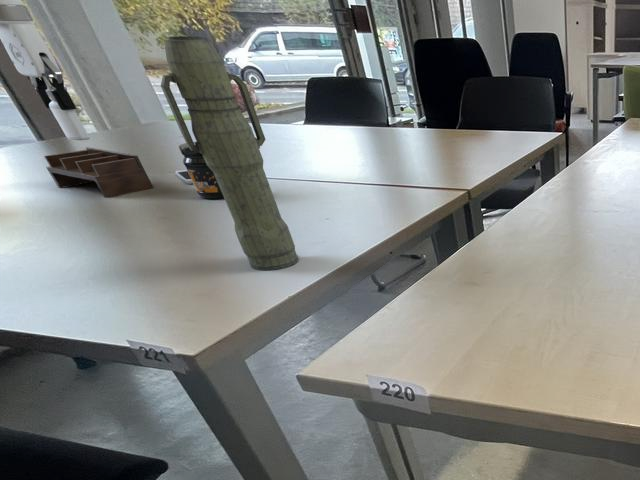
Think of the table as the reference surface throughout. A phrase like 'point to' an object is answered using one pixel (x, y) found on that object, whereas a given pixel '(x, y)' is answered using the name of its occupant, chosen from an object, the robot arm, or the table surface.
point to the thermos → (228, 147)
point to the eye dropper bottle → (67, 120)
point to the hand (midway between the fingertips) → (61, 107)
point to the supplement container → (200, 173)
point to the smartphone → (184, 176)
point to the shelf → (99, 170)
